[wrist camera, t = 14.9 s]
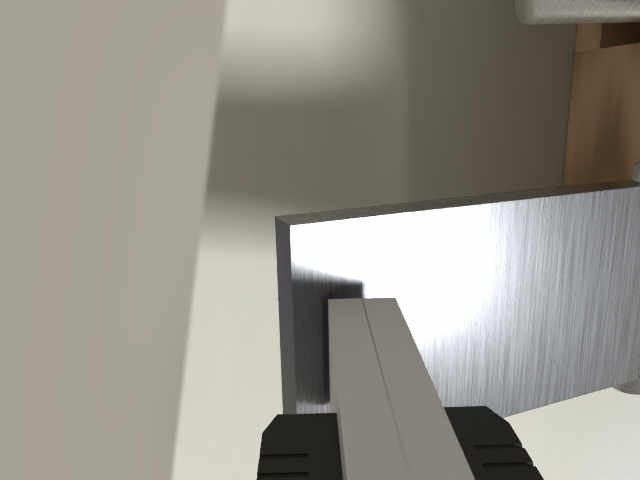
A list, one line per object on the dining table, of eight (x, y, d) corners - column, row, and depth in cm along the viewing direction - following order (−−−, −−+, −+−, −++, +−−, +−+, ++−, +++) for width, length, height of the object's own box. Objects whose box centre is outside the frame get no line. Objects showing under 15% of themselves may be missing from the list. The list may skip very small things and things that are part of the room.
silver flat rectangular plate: (653, 159, 17) (272, 193, 13) (692, 164, 16) (290, 202, 11) (626, 372, 19) (284, 466, 14) (659, 389, 18) (300, 496, 13)
